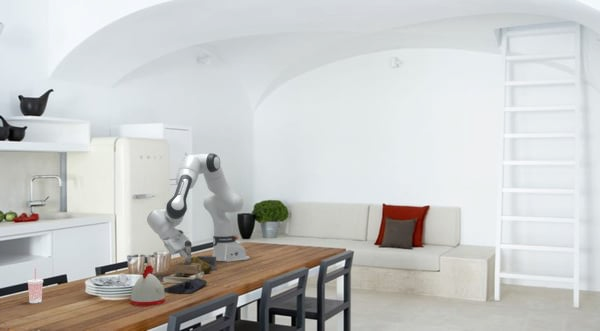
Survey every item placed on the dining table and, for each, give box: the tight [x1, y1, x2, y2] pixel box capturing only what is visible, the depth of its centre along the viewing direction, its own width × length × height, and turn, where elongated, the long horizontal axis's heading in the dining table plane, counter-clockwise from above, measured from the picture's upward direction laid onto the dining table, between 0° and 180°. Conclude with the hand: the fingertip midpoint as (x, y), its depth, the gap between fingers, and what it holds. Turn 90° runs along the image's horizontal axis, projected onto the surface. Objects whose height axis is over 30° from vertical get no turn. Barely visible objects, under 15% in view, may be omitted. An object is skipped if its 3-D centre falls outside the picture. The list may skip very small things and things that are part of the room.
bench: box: [162, 255, 217, 284], centre depth 314 cm, size 39×14×7 cm, turn 166°
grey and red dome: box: [130, 265, 166, 307], centre depth 257 cm, size 14×14×15 cm
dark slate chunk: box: [164, 278, 208, 295], centre depth 283 cm, size 15×22×5 cm
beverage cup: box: [27, 267, 44, 304], centre depth 257 cm, size 6×6×14 cm
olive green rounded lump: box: [191, 256, 212, 274], centre depth 322 cm, size 8×13×8 cm, turn 58°
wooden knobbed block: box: [174, 240, 201, 276], centre depth 309 cm, size 7×11×18 cm, turn 76°
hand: (189, 256), depth 308 cm, fingers closed on wooden knobbed block, 3 cm apart
